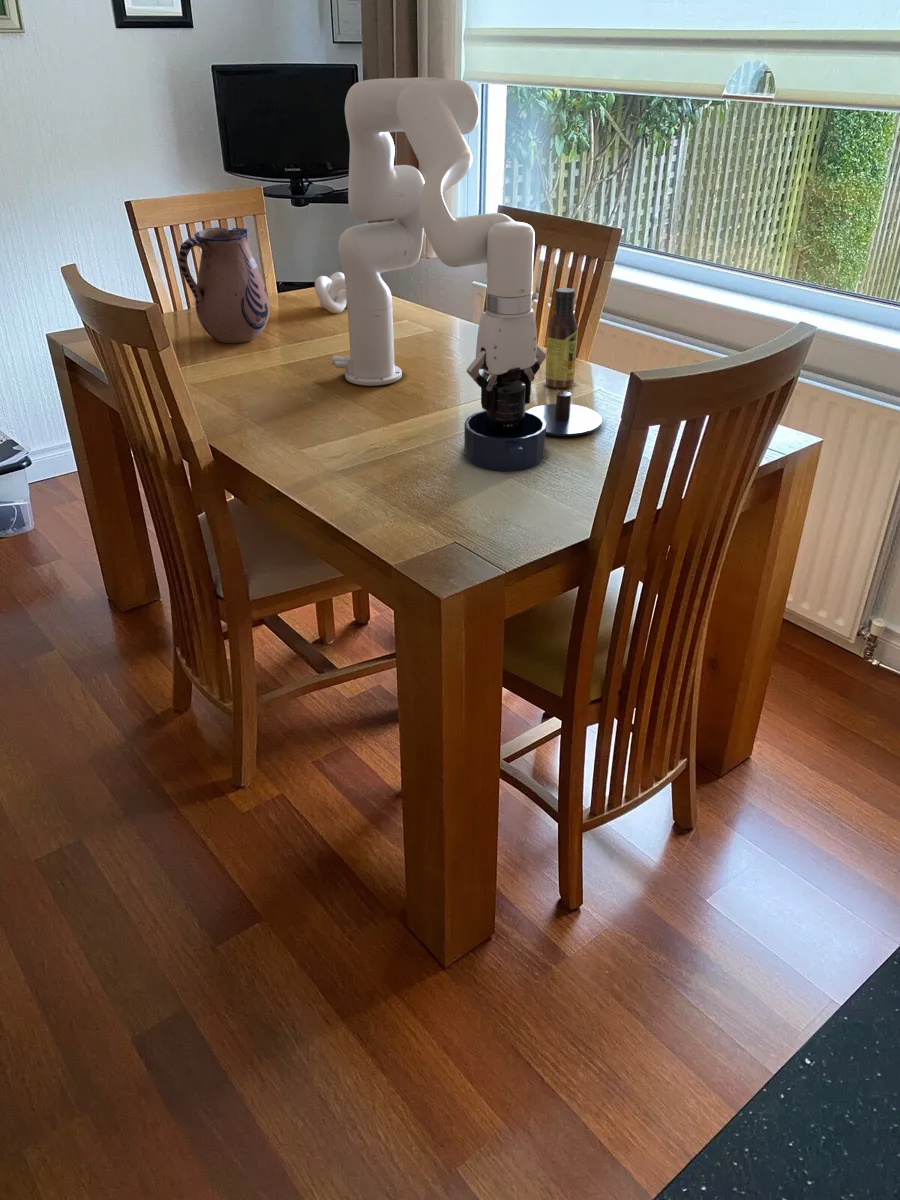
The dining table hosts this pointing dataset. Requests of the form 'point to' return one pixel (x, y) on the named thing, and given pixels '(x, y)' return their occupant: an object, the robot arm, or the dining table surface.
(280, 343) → the dining table surface
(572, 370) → the sauce bottle
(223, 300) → the ceramic pitcher
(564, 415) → the pan lid
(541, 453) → the pan
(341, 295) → the white knot sculpture
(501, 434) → the supplement bottle
